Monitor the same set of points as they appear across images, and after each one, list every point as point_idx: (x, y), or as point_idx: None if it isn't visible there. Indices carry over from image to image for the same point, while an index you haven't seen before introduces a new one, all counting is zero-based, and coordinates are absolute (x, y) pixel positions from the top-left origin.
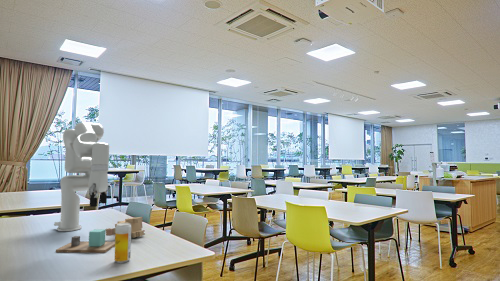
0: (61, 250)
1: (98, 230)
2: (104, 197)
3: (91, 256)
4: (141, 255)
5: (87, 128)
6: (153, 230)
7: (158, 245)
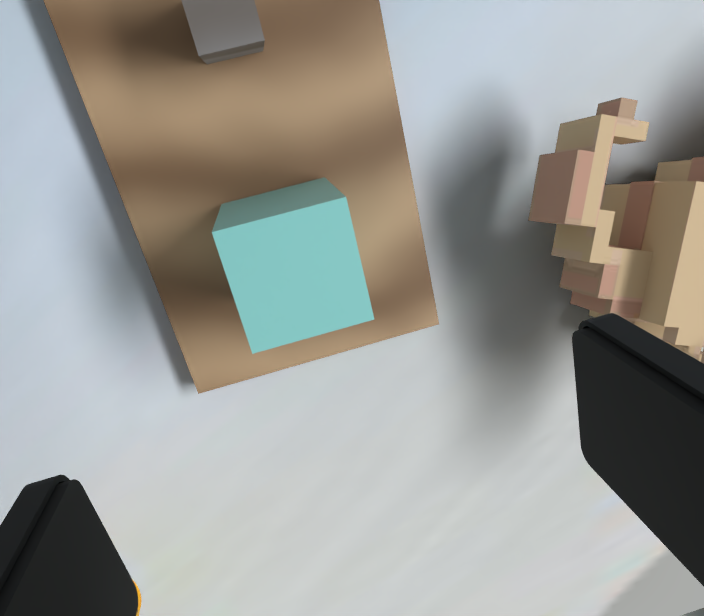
0: (47, 1)
1: (306, 284)
2: (684, 532)
3: (83, 355)
4: (234, 611)
5: None
6: None
7: (457, 572)
